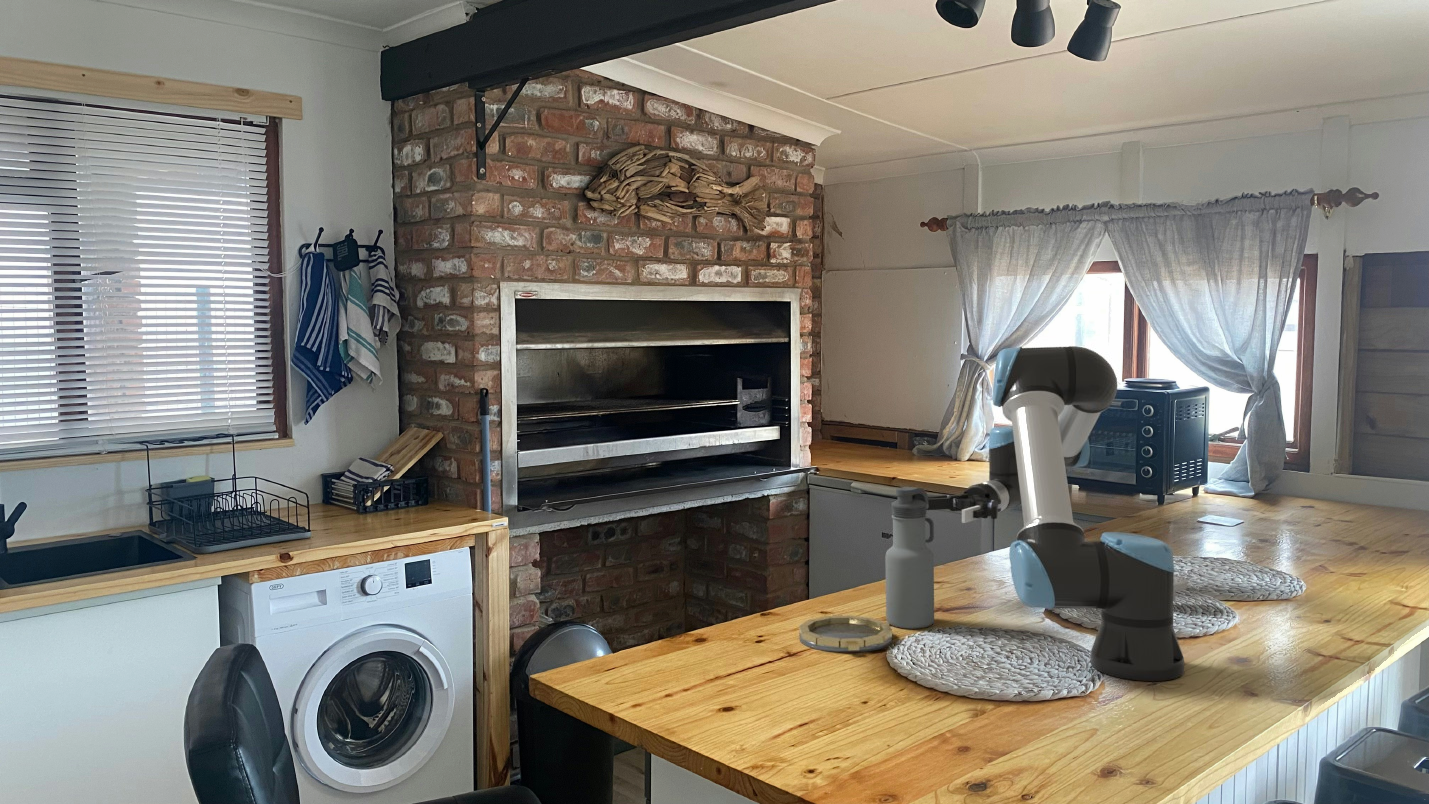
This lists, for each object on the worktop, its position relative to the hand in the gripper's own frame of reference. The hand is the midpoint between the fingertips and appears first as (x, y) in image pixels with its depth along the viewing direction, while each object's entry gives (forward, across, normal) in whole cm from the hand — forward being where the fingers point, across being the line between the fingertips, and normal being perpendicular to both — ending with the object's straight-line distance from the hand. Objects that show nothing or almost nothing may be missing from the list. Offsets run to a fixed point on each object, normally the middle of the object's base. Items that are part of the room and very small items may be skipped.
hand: (934, 513), depth 216 cm
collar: (+28, +3, -21) cm, 35 cm away
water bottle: (+10, 0, -22) cm, 24 cm away
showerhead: (-33, -35, -22) cm, 53 cm away
